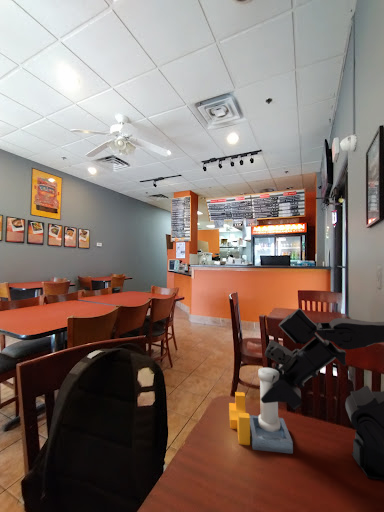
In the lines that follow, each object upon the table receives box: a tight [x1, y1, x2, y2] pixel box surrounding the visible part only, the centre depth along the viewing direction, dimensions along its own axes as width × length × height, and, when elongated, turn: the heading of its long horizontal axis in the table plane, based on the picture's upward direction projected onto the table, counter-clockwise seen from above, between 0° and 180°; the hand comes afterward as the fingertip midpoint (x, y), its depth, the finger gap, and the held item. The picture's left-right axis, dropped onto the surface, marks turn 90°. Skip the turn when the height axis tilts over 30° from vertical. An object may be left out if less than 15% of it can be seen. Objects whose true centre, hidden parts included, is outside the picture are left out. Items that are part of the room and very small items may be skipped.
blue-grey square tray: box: [249, 414, 294, 455], centre depth 60 cm, size 9×9×2 cm
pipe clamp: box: [228, 391, 251, 446], centre depth 64 cm, size 12×4×6 cm, turn 174°
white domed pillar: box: [257, 367, 280, 432], centre depth 60 cm, size 5×5×13 cm
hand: (263, 396), depth 61 cm, fingers closed on white domed pillar, 4 cm apart
